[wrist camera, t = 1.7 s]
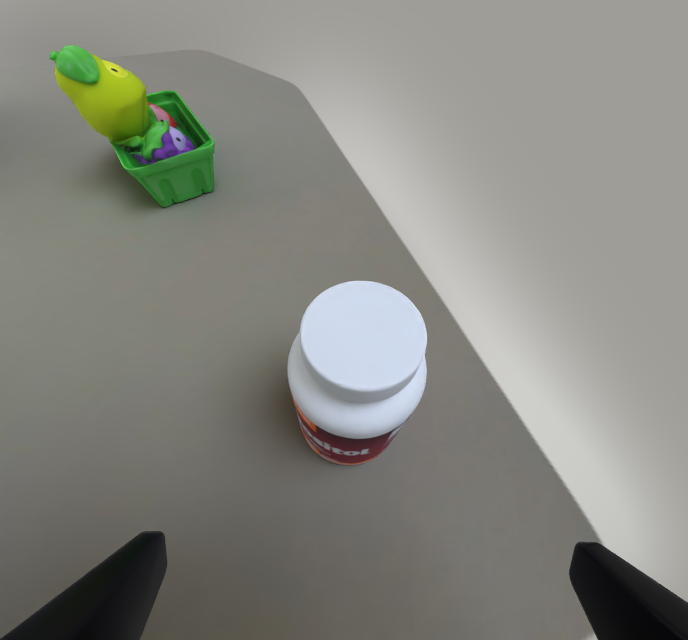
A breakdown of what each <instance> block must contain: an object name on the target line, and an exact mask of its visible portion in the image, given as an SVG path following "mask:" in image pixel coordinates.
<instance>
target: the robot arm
mask: <svg viewBox="0 0 688 640" xmlns="http://www.w3.org/2000/svg"><path fill="white" fill-rule="evenodd" d="M166 568H167V555H166V544H165V536H164V534H163V532H160V531H144V532H142V533H140V534H139V535H137V536H136V537H135V538H133V539H132V540H131V541H129V542H128V543H127V544H125V545H124V546H123V547H121V548H120V549H119V550H117V551H116V552H115V553H113V554H112V555H111V556H109V557H108V558H107V559H105V560H104V561H103V562H102V563H100V564H99V565H98V566H96V567H95V568H94V569H92V570H91V571H90V572H88V573H87V574H86V575H84V576H83V577H82V578H80V579H79V580H78V581H76V582H75V583H74V584H72V585H71V586H70V587H69V588H67V589H66V590H65V591H63V592H62V593H61V594H59V595H58V596H57V597H55V598H54V599H53V600H51V601H50V602H49V603H47V604H46V605H45V606H43V607H42V608H41V609H39V610H38V611H37V612H35V613H34V614H33V615H32V616H30V617H29V618H28V619H26V620H25V621H24V622H22V623H21V624H20V625H18V626H17V627H16V628H14V629H13V630H12V631H10V632H9V633H8V634H6V635H5V636H4V637H2V638H1V639H0V640H140V638H141V635H142V632H143V630H144V627H145V625H146V622H147V619H148V617H149V614H150V612H151V609H152V607H153V604H154V601H155V599H156V596H157V594H158V591H159V589H160V586H161V583H162V581H163V578H164V575H165V572H166ZM569 575H570V580H571V583H572V586H573V588H574V590H575V592H576V594H577V596H578V599H579V601H580V603H581V605H582V607H583V609H584V611H585V613H586V615H587V618H588V620H589V622H590V624H591V626H592V628H593V630H594V632H595V634H596V637H597V639H598V640H688V603H687V602H686V601H684V600H683V599H681V598H680V597H678V596H677V595H676V594H674V593H673V592H671V591H670V590H668V589H667V588H665V587H664V586H662V585H661V584H659V583H657V582H656V581H655V580H653V579H652V578H650V577H649V576H647V575H646V574H644V573H643V572H641V571H639V570H638V569H637V568H635V567H634V566H632V565H631V564H629V563H628V562H626V561H625V560H623V559H622V558H620V557H619V556H617V555H616V554H614V553H613V552H611V551H610V550H608V549H607V548H605V547H604V546H602V545H601V544H599V543H596V542H578V543H577V544H576V545H575V548H574V553H573V557H572V561H571V565H570V570H569Z"/></svg>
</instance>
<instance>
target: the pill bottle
mask: <svg viewBox="0 0 688 640" xmlns="http://www.w3.org/2000/svg"><path fill="white" fill-rule="evenodd" d="M426 344H427V333H426V327H425V323H424V320H423V318H422V316H421V314H420V312H419V311H418V309H417V308H416V306H415V305H414V304H413V303H412V302H411V301H410V300H409V299H408V298H407V297H406V296H405V295H403V294H402V293H400V292H399V291H397V290H395V289H393V288H392V287H389V286H387V285H384V284H381V283H376V282H371V281H351V282H345V283H341V284H338V285H335V286H333V287H331V288H329V289H327V290H325V291H324V292H322V293H321V294H320V295H318V296H317V297H316V298H315V299H314V300H313V301H312V302H311V304H310V305H309V306H308V308H307V310H306V311H305V314H304V316H303V318H302V322H301V326H300V332H299V333H298V335H297V337H296V338H295V340H294V342H293V344H292V347H291V350H290V353H289V358H288V370H287V371H288V381H289V386H290V389H291V394H292V397H293V401H294V405H295V408H296V412H297V416H298V419H299V423H300V427H301V430H302V433H303V435H304V437H305V439H306V441H307V442H308V444H309V445H310V447H311V448H312V449H313V450H314V451H315V452H316V453H317V454H319V455H320V456H321V457H323V458H324V459H326V460H328V461H331V462H333V463H337V464H342V465H357V464H362V463H365V462H367V461H370V460H372V459H373V458H375V457H377V456H378V455H379V454H381V453H382V452H383V451H384V450H385V449H386V448H387V446H388V445H389V444H390V442H391V441H392V440H393V438H394V437H395V436H396V434H397V433H398V432H399V430H400V429H401V428H402V426H403V425H404V423H405V422H406V421H407V419H408V418H409V417H410V416H411V414H412V413H413V411H414V410H415V408H416V407H417V405H418V403H419V401H420V400H421V397H422V395H423V392H424V388H425V384H426V376H427V370H426V361H425V356H424V354H425V351H426Z"/></svg>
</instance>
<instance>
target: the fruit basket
mask: <svg viewBox="0 0 688 640" xmlns="http://www.w3.org/2000/svg"><path fill="white" fill-rule="evenodd" d="M49 58H50V59H51V60H53V61H54V62H55V64H56V65H55V78H56V81H57V83H58V85H59V86H60V88H61V89H62V90H63V91H64V92H65V94H66V95H67V96H68V97H69V98H70V99H71V100H72V101H73V103H74V104H75V106H76V107H77V109H78V111H79V112H80V114H81V115H82V116H83V118H84V119H85V120H86V122H87V123H88V124H89V125H90V126H91V127H92V128H93V129H95V130H96V131H97V132H99V133H100V134H102V135H104V136H106V137H108V139H109V140H110V142H111V144H112V146H113V148H114V150H115V152H116V154H117V156H118V158H119V160H120V163H121V165H122V166H123V167H124V168H125V170H126V171H127V172H128V173H129V174H130V175H132V176H133V177H135V178H136V179H137V180H138V181H139V182H140V183H141V184H142V185H143V187H144V188H145V189H146V190H147V191H148V192H149V193H150V194H151V195H152V196H153V198H154V199H155V200H156V201H157V202H158V203H159V204H160V205H161V206H162V207H168V206H170V205H171V204H173V203H178V202H182V201H185V200H188V199H191V198H194V197H197V196H199V195H201V194H202V193H203V192H204V193H208V192H212V191H213V190H214V174H213V153H214V140H213V138H212V137H211V136H210V135H209V133H208V132H207V131H206V129H205V128H204V127H203V126H202V125H201V123H200V122H199V121H198V119H197V118H196V117H195V115H194V114H193V112H192V111H191V110H190V109H189V108H188V106H187V105H186V104H185V102H184V101H183V100H182V98H181V97H180V96H179V94H178V93H177V92H175V91H161V92H157V93H152V94H148V95H146V87H145V86H144V84H143V83H142V82H141V80H140V79H139V78H138V77H137V76H135V75H134V74H133V73H131V72H129V71H127V70H125V69H123V68H121V67H120V66H118V65H116V64H114V63H111V62H108V61H104V60H102V59H100V58H99V57H97V56H95V55H93V54H91V53H89V52H87V51H86V50H84V49H82V48H81V47H78V46H75V45H68V46H65V47H63V48H62V50H61V51H60V53H57V52H56V51H52V52H51V54H50V56H49Z"/></svg>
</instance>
